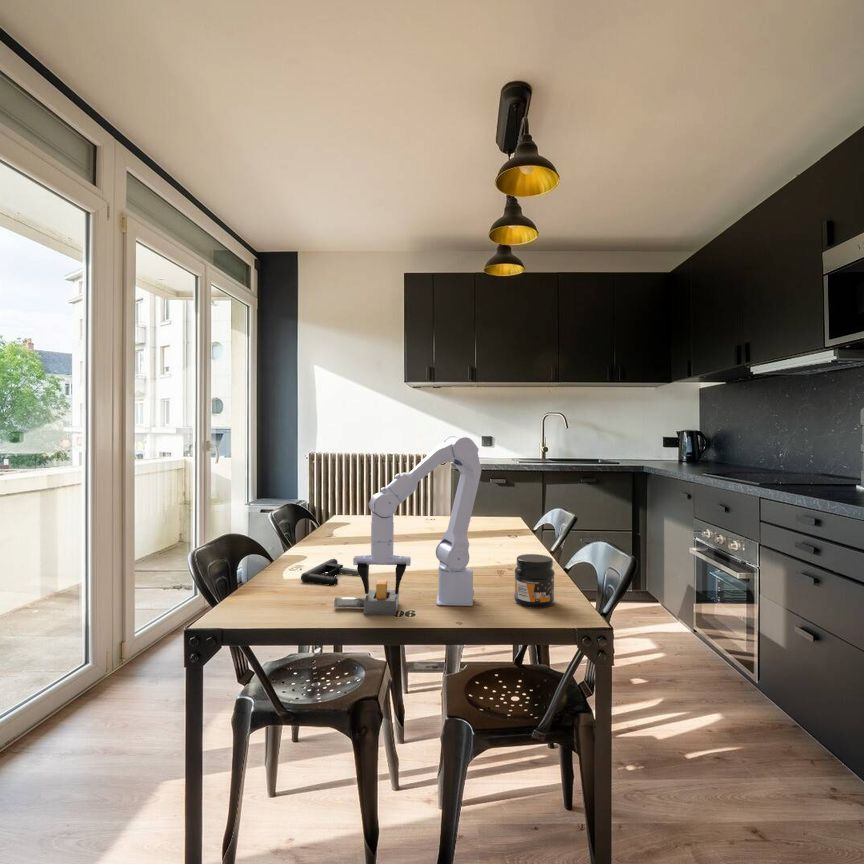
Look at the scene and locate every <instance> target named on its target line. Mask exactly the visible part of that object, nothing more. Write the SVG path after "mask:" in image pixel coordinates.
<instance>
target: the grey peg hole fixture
mask: <svg viewBox="0 0 864 864" xmlns="http://www.w3.org/2000/svg"><path fill="white" fill-rule="evenodd" d="M399 603H400V591H399V592H398V594H395V589H387V599H376V589H369V592H368V594H365V596H364V597H334V603H333V604H334V605H333V606H334V608H353V609H354V608H357V609H359V608H360V609H361V608H362V609H363V615H364V616H365V615H366V616H397V613H396V612H398V609H397V608H399V605H400V604H399ZM398 604H399V605H398Z"/></svg>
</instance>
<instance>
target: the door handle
mask: <svg viewBox="0 0 864 864" xmlns="http://www.w3.org/2000/svg"><path fill="white" fill-rule="evenodd" d="M325 572H328V573H325ZM323 573H324V574H323ZM339 573H342V574H341V575H345V574H352V575H351V576H355V575H360V574H359V573H358V570H357V568H356V569H355V568H349V567H344V564H341V563H338V559H336V558H330V559H329V560H327V561H324V562H323V563H321V564H319V565H317V566H315V567H313V568H311V569H309V570H307V571H305V572H303V573H301V576H300V580H301V581H302V582H303V583H305V582H306V583H312V582H313V584H318V583H321V584H320V585H324V584H329V585H328V586H335V585H334V584H336V585H337V584H338V582H339V579H338V577H336V576H335V575H337V574H338V575H340V574H339ZM338 575H337V576H338ZM334 576H335V577H334Z"/></svg>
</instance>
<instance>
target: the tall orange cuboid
mask: <svg viewBox="0 0 864 864" xmlns="http://www.w3.org/2000/svg"><path fill="white" fill-rule="evenodd" d="M375 590H376V599H387V590H388V579H377V581H376V583H375Z"/></svg>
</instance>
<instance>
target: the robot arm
mask: <svg viewBox="0 0 864 864" xmlns="http://www.w3.org/2000/svg"><path fill="white" fill-rule="evenodd" d="M445 463H453V464H454V465H455V467H456V469H457V470H458V472H459V473H460V474H459V480H458V484H457V488H456V492H455V496H454V501H453V505H452V510H451V513H450V517H449V522H448V526H447V530H445V532H444V533H443V534H442V537H441V540H440V542H438V544H437V546H436V548H435V555H436V558H437V560H438V561H439V564H438V580H437V582H438V586H437V587H438V593H437V595H436V605H437V606H461V607H462V606H464V607H465V606H466V607H467V606H469V607H473V606H474V596H475V590H474V570H473V568H469V567H467V566H468V565H469V562H470V553H469V549H470V542H469V539H468V536H467V535H468V532H469V531H468V530H469V527H470V521H471V518H472V513H473V510H474V505H475V501H476V496H477V493H478V492H477V491H478V487H479V483H480V480H481V479H480V478H481V474H482V466H481V461H480V458H479V447H478V446H477V445H476V443H475V442H474V440H472V439H471V438H470V437H467V436H463V437H459V436H447V437H446V438H445V439H444V440H443V441H442V442H440V443H438V444H437V445H436V446H435V447H434V448H433V449H432V450H431V452H429V453H428V454H427V455H426V456H425V457H424V458H423V459H422V460H421V461H420V462H419V463H418V464H417V465H415V467H414V468H413V469H412V470H410V471H409V472H401V473H397V474H395V475H394V476H393V477H394V478H395V479H393V480H391V482H390V483H389V484H388V485H386V486H383V487H382V488H380V492H377V493H374V494H373V495H372V496H371V498H370V500H369V502H368V503H367V504H368V509H369V510H370V512H371V522H370V527H371V528H370V555H369V554H367V555H365V554H364V555H354V556H353V559H352V562H353V566H357V567H356V570H358V573H359V574H360V576H359V577H360V579H361V581H362V585H363V588H364V593H365V595H367V594H368V592H369V590H370V581H369V575H370V574H369V573H370V572H369V571H370V565H373V566H375V565H376V566H379V565H380V566H395V587H394V590H395V594H398V592H399V593H400V586H401V585H400V584H401V581H402V579H403V577H404V574H405V571H406V569H407V567H411V565H412V563H411V560H412V559H411V558H412V557H411V556H406V555H405V556H403V555H394V531H395V530H394V528H395V527H394V525H395V524H394V515H395V514H396V511H398V510H397V509H398V506H399V505H401V504H402V503H403V502H404V501H405V500H406V499H408V497H410V496H411V495H412V494H413V493H414V492H415V491H417V490H418V486H419V485H418V483H419V481H421V480H422V479H424V478H425V477H426V476H427V475H429V474H430V473H431V472H432V471H433V470H435V469H436V468H437V467H439V466H440V465H441V464H445Z"/></svg>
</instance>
